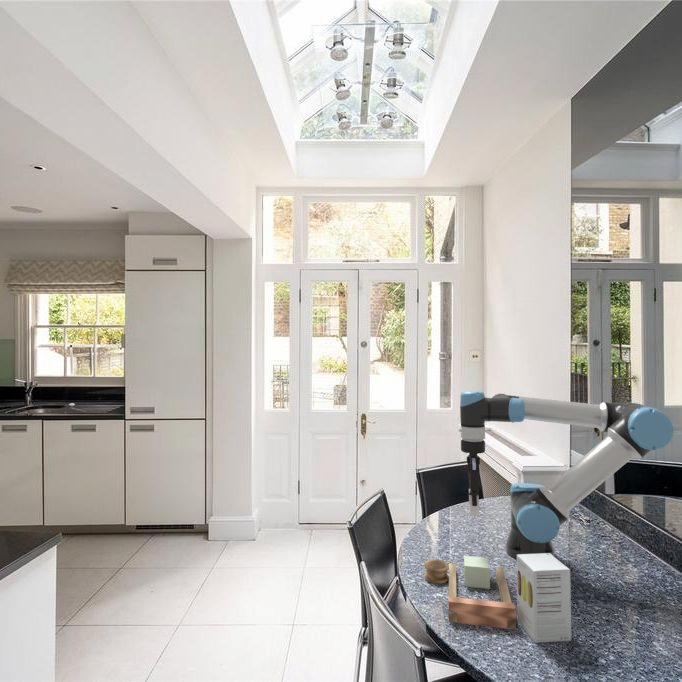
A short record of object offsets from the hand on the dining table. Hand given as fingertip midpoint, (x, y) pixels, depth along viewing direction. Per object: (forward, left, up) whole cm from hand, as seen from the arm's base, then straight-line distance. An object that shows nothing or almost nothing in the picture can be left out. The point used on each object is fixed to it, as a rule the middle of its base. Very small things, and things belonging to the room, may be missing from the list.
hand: (474, 512), depth 150 cm
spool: (+12, +11, -17) cm, 23 cm away
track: (0, +20, -17) cm, 26 cm away
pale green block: (0, +11, -17) cm, 20 cm away
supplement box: (-14, +33, -17) cm, 40 cm away
